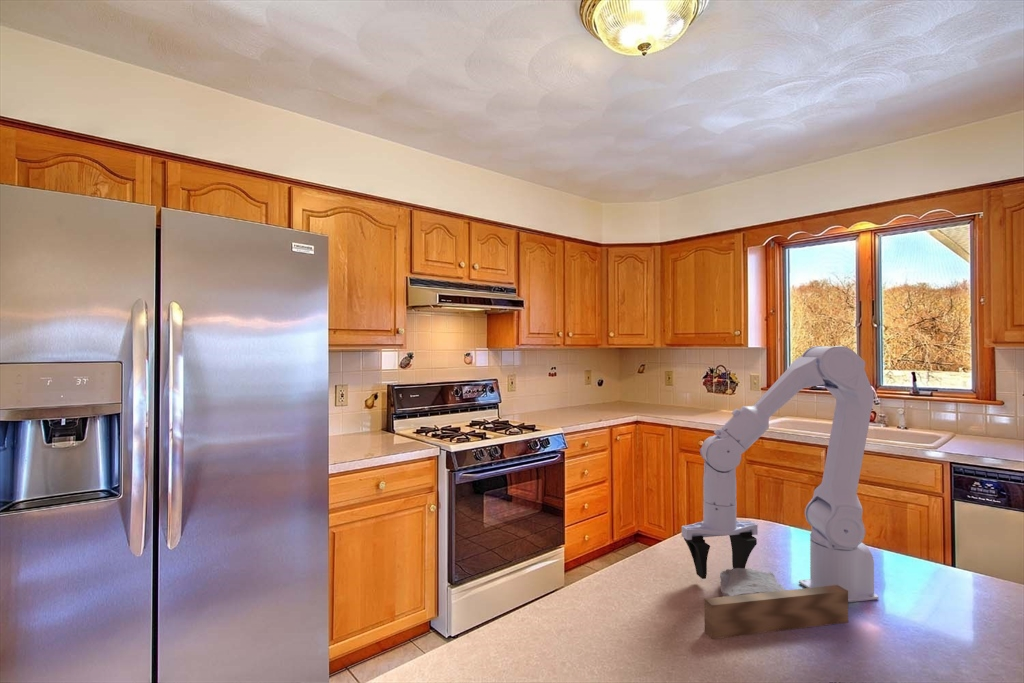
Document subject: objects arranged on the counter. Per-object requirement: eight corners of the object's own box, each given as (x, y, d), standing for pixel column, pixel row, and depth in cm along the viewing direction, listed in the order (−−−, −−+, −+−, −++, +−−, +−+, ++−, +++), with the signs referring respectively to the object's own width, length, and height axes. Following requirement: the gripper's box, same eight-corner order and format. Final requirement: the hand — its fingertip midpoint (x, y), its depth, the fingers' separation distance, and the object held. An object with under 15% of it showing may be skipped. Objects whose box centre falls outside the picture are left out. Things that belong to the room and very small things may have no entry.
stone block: (732, 627, 81) (797, 621, 80) (725, 597, 82) (790, 590, 80) (717, 594, 93) (774, 588, 91) (711, 568, 93) (768, 562, 92)
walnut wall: (837, 615, 81) (837, 585, 81) (848, 622, 79) (848, 590, 79) (704, 631, 77) (704, 598, 77) (712, 638, 75) (712, 605, 75)
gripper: (740, 493, 98) (740, 562, 98) (673, 497, 95) (673, 568, 95) (765, 504, 91) (765, 578, 91) (693, 508, 89) (693, 585, 88)
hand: (719, 574), depth 93 cm, fingers open, 7 cm apart
